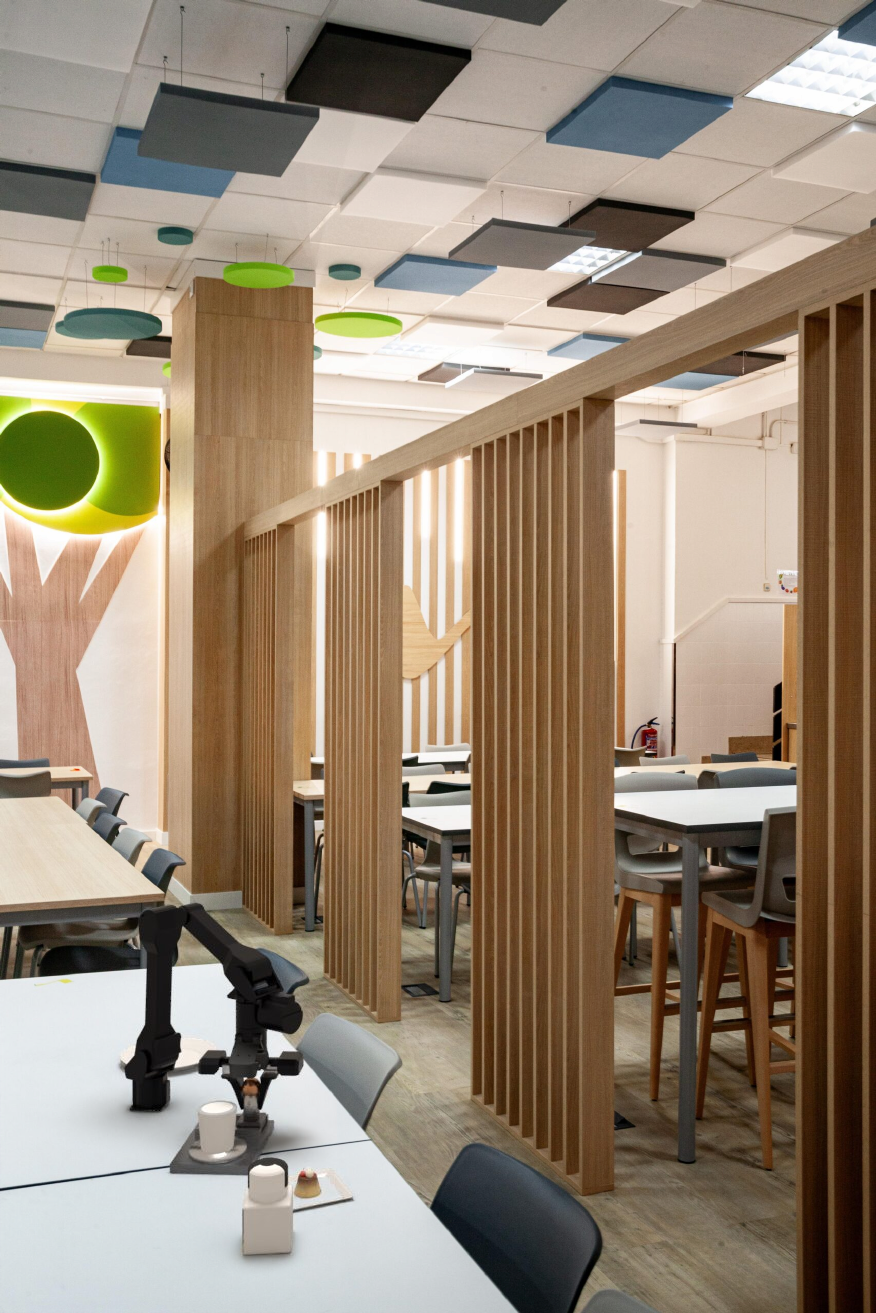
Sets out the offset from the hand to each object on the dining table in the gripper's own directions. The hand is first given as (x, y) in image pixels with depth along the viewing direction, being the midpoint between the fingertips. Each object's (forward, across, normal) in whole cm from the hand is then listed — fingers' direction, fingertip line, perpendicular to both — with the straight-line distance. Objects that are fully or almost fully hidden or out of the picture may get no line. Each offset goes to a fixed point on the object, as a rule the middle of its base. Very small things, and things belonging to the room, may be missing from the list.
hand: (251, 1109), depth 210 cm
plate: (+6, -28, +40) cm, 49 cm away
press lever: (+3, 0, 0) cm, 3 cm away
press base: (+5, -4, -6) cm, 9 cm away
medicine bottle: (+5, +11, -39) cm, 41 cm away
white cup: (+3, -4, -10) cm, 12 cm away
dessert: (+6, +14, -22) cm, 27 cm away
